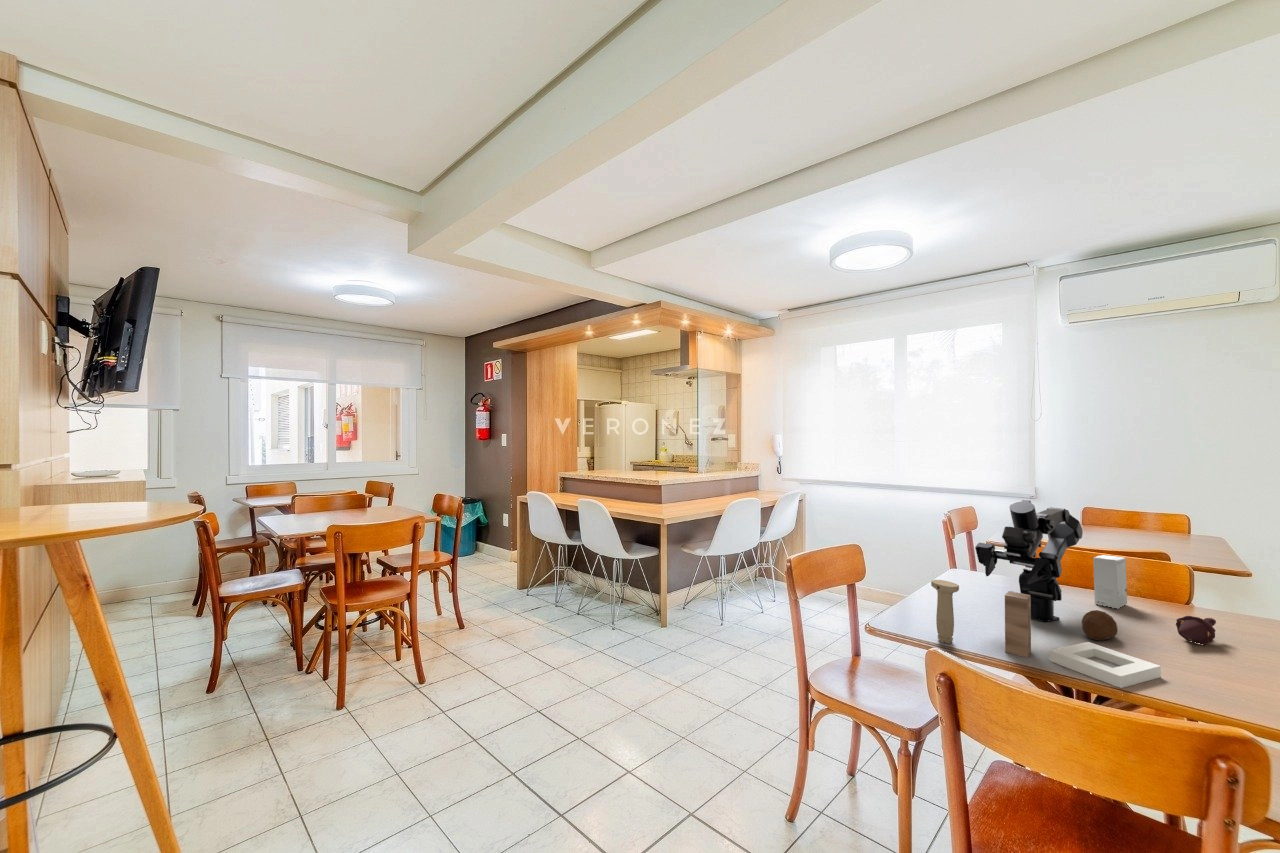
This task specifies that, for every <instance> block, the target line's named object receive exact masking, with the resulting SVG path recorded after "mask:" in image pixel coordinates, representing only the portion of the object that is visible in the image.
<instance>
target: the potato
mask: <svg viewBox="0 0 1280 853" xmlns="http://www.w3.org/2000/svg"><path fill="white" fill-rule="evenodd" d="M1081 628H1082V631H1083V633H1084V635H1086V637H1087V638H1089V639H1091V640H1093V641H1103V640H1104V641H1105V640H1107V639H1112V638H1115V637H1116V636H1117V634H1118V632H1119V630H1118V625H1117V622H1116V620H1115V619H1114V617H1113V616H1111V615H1110V614H1109V613H1107V612H1105V611H1103V610H1098V609H1096V610H1094V609H1093V610H1089V611H1088V612H1086V613H1085V614H1084V615H1083V616H1082V619H1081Z"/></svg>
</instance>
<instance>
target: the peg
mask: <svg viewBox="0 0 1280 853" xmlns="http://www.w3.org/2000/svg"><path fill="white" fill-rule="evenodd" d="M1031 622H1032V618H1031V595H1028V594H1022V593H1021V592H1015V591H1010V590H1009V591H1007V592H1006V593H1005V595H1004V653H1007V654H1011V655H1015V656H1020V657H1023V658H1027V659H1028V658H1029V656H1030V655H1031V653H1032V624H1031Z"/></svg>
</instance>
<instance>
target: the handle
mask: <svg viewBox="0 0 1280 853" xmlns="http://www.w3.org/2000/svg"><path fill="white" fill-rule="evenodd" d="M930 585H931V587H932V588H934V589H935V590H936V592H937V599H936V603H937V604H936V615H935V616H936V621H935V622H936V624H935V625H936V631H937V640H938V641H939V642H940V643H944V642H945V643H944V644H952V643H953V642H954V637H953V636H954V632H955V630H954V629H955V615H954V602H953V601H954V600H953V596H954V595H953V594H954V593H957V592H959V590H960V585H959V584H958V583H954V582H953V581H949V580H944V579H943V580H942V579H933V580H931V581H930Z"/></svg>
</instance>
